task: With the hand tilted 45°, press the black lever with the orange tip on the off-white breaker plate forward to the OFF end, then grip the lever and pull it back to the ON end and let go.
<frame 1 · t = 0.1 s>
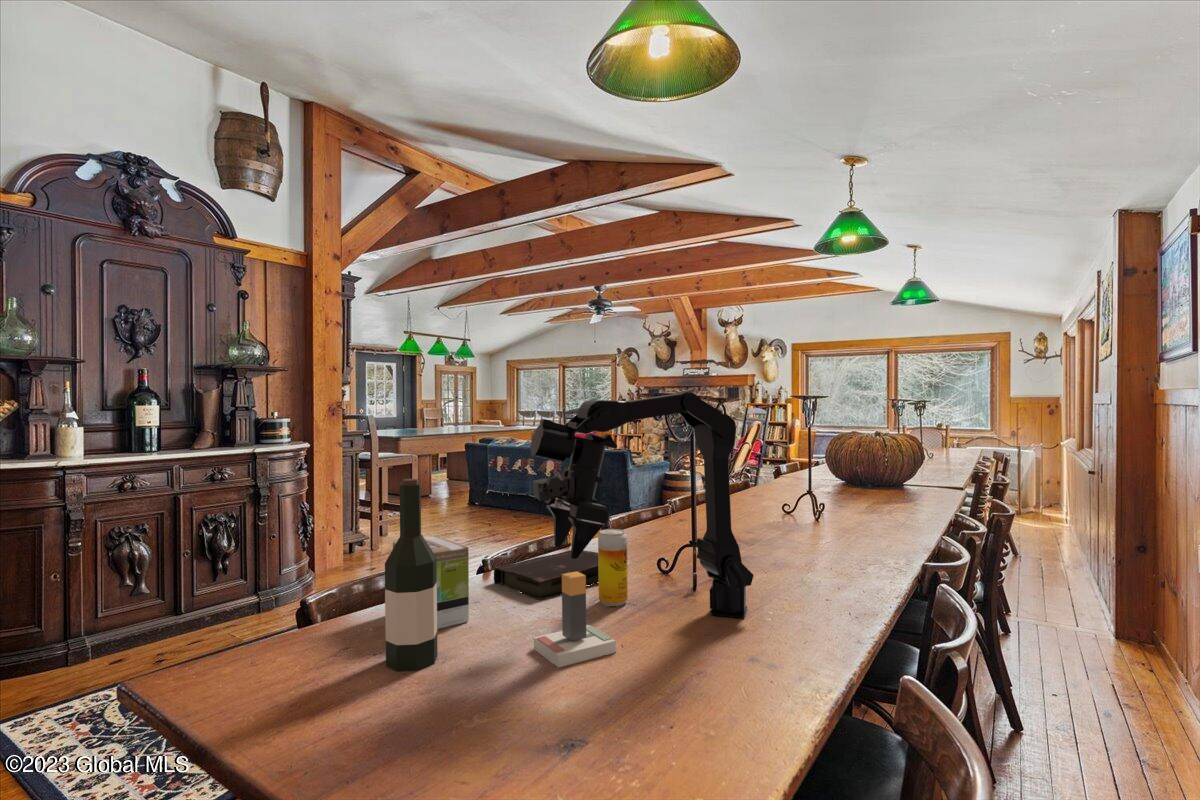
hand: (565, 552, 115), 15 cm above the table, tool pointing down, fingers open, 9 cm apart
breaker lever: (574, 605, 109), point 8 cm above the table, slide at 0.0 cm
beer can: (613, 603, 135), on the table
breaker plate: (574, 650, 109), on the table
wine bottle: (412, 662, 106), on the table
diary: (559, 583, 151), on the table
tea box: (430, 618, 127), on the table
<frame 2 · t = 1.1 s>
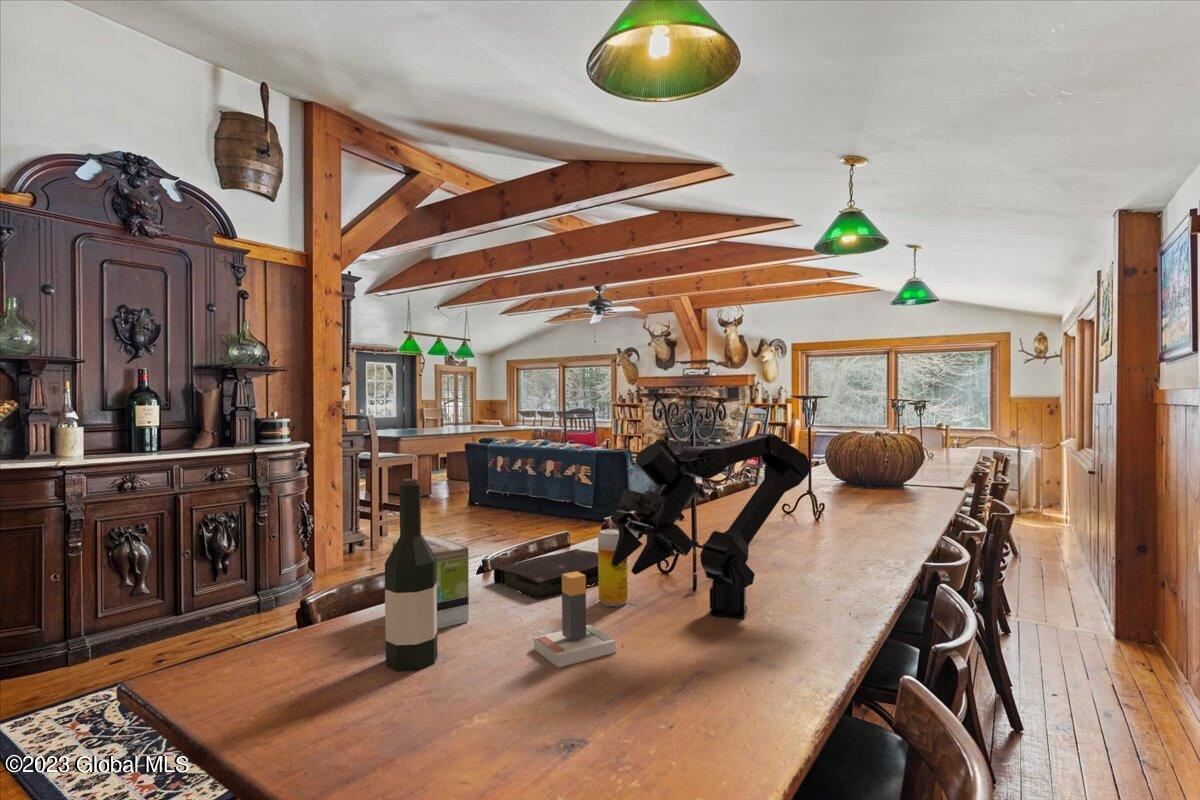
hand: (622, 568, 115), 12 cm above the table, tool tilted 45°, fingers open, 6 cm apart
nothing on the table moved.
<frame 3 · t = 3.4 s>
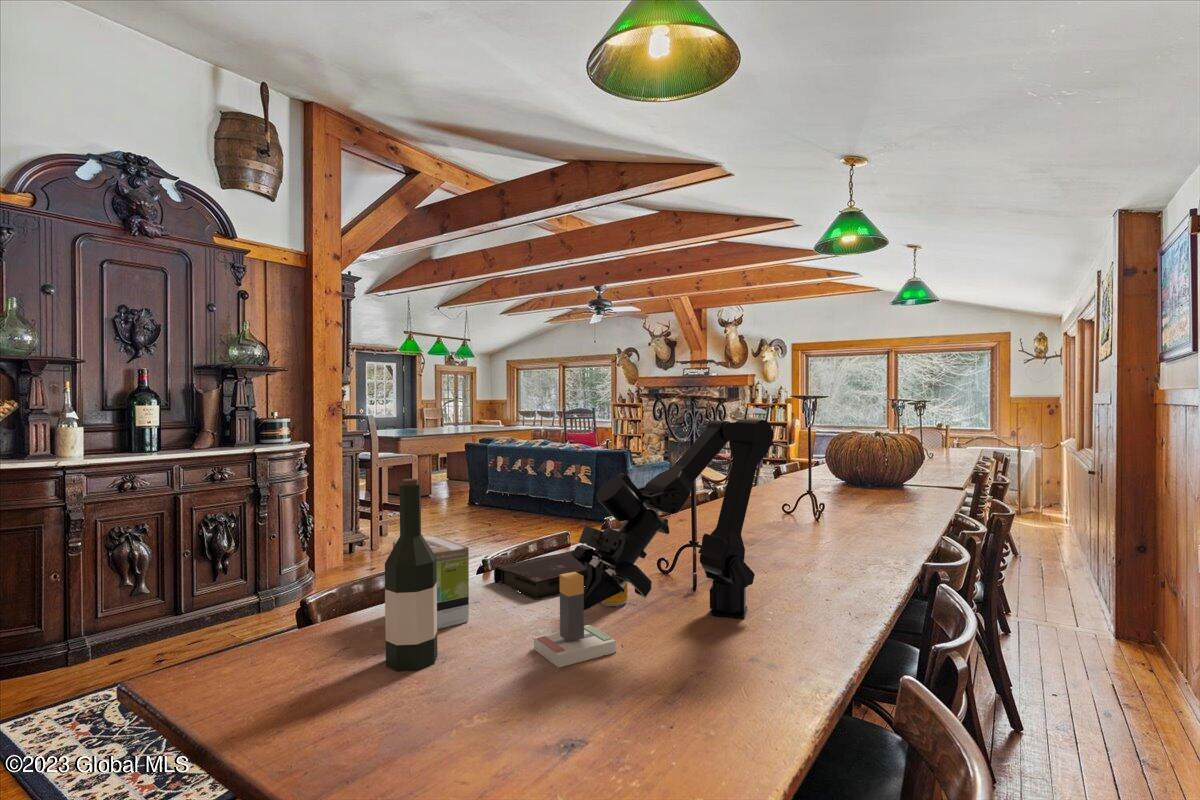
hand: (580, 609, 110), 7 cm above the table, tool tilted 45°, fingers closed, pressing on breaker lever
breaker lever: (571, 605, 109), point 8 cm above the table, slide at 0.5 cm, touching gripper
everything else where it was.
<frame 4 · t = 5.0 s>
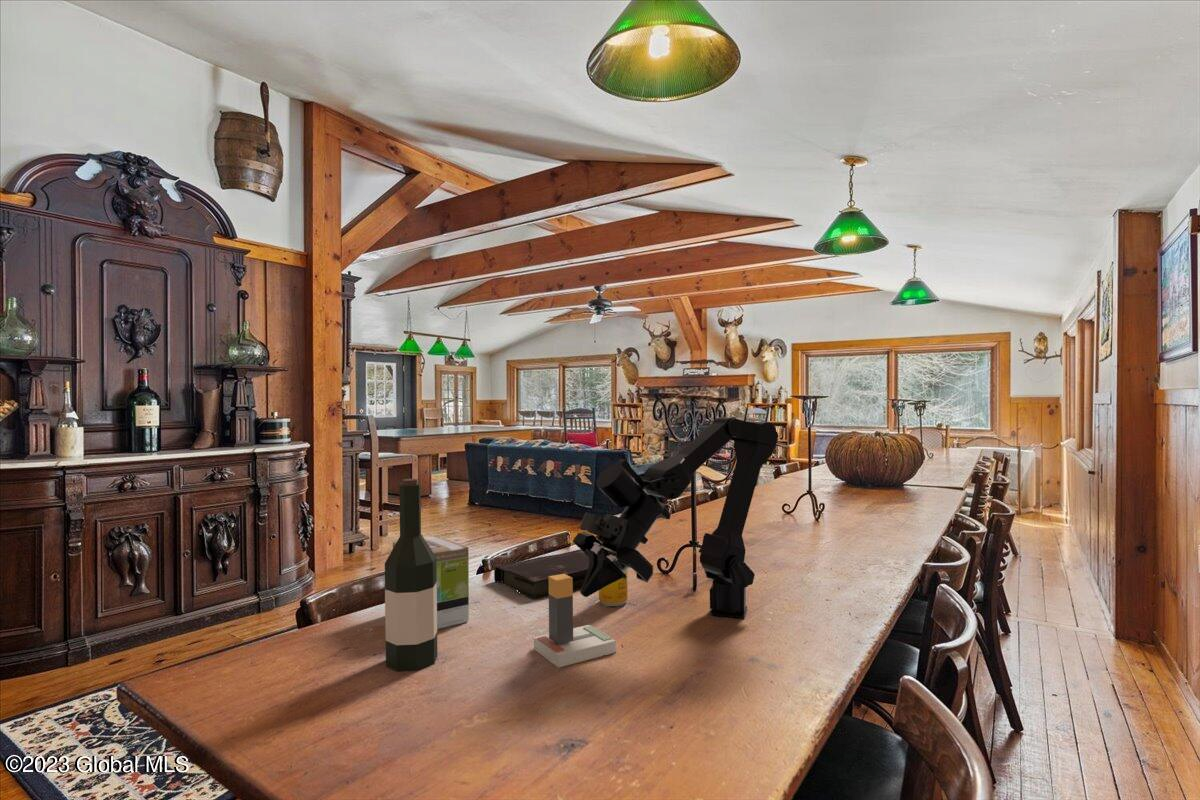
hand: (583, 595, 110), 9 cm above the table, tool tilted 45°, fingers closed
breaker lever: (560, 608, 108), point 8 cm above the table, slide at 2.6 cm
everything else where it was.
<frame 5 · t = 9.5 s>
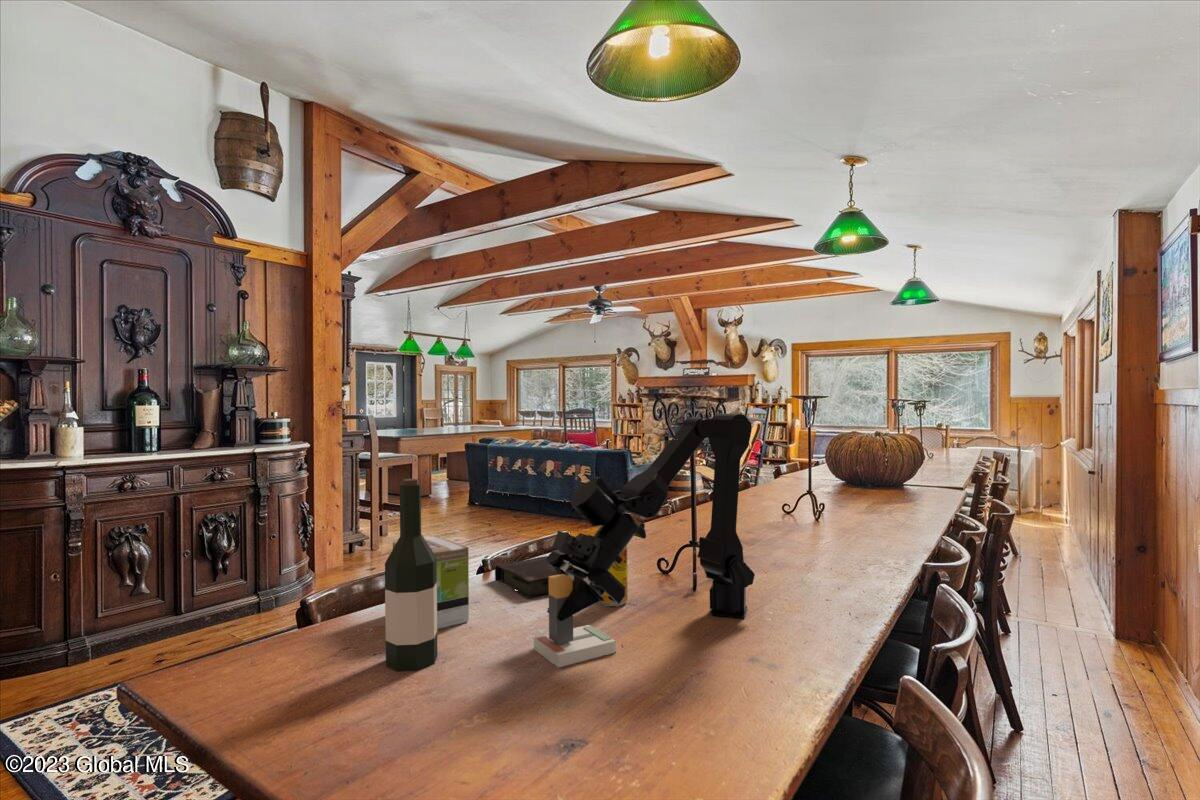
hand: (553, 616, 107), 7 cm above the table, tool tilted 45°, fingers closed on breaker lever, 3 cm apart
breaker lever: (560, 608, 108), point 8 cm above the table, slide at 2.5 cm, touching gripper
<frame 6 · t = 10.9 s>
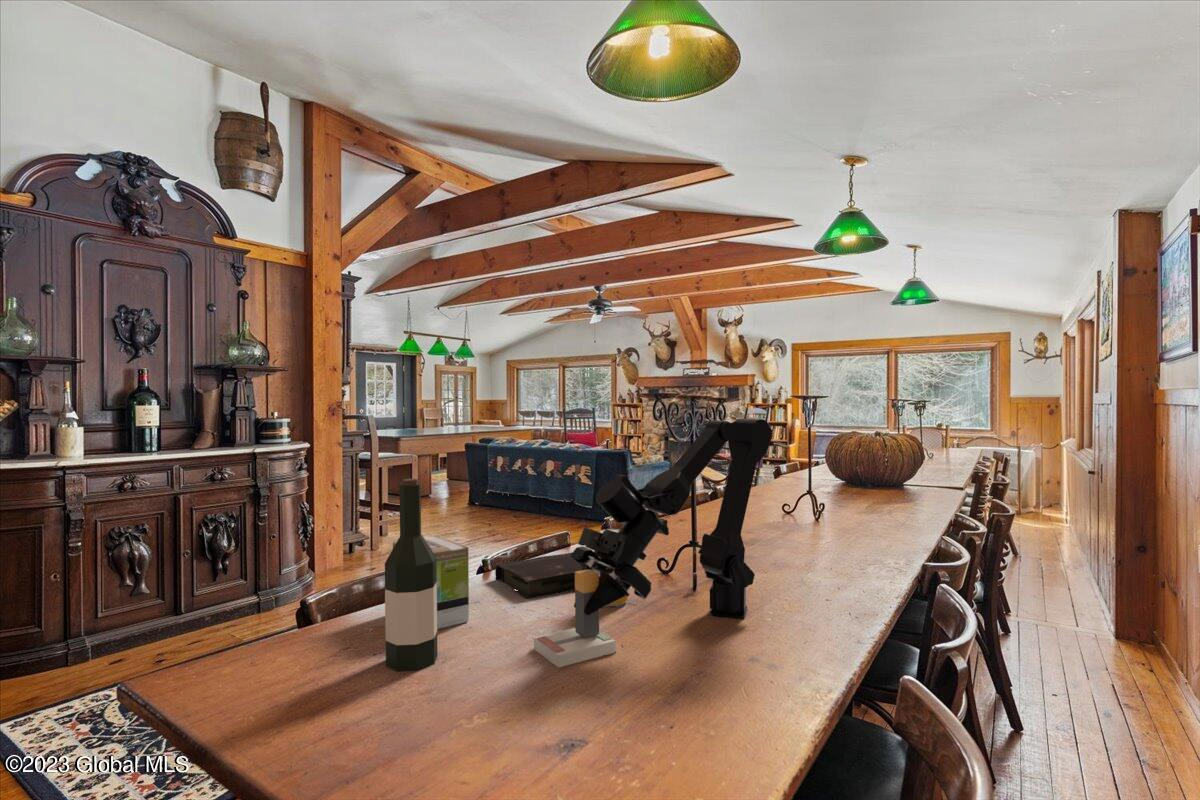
hand: (580, 610, 110), 7 cm above the table, tool tilted 45°, fingers closed on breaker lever, 3 cm apart
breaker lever: (587, 602, 111), point 8 cm above the table, slide at -2.6 cm, touching gripper
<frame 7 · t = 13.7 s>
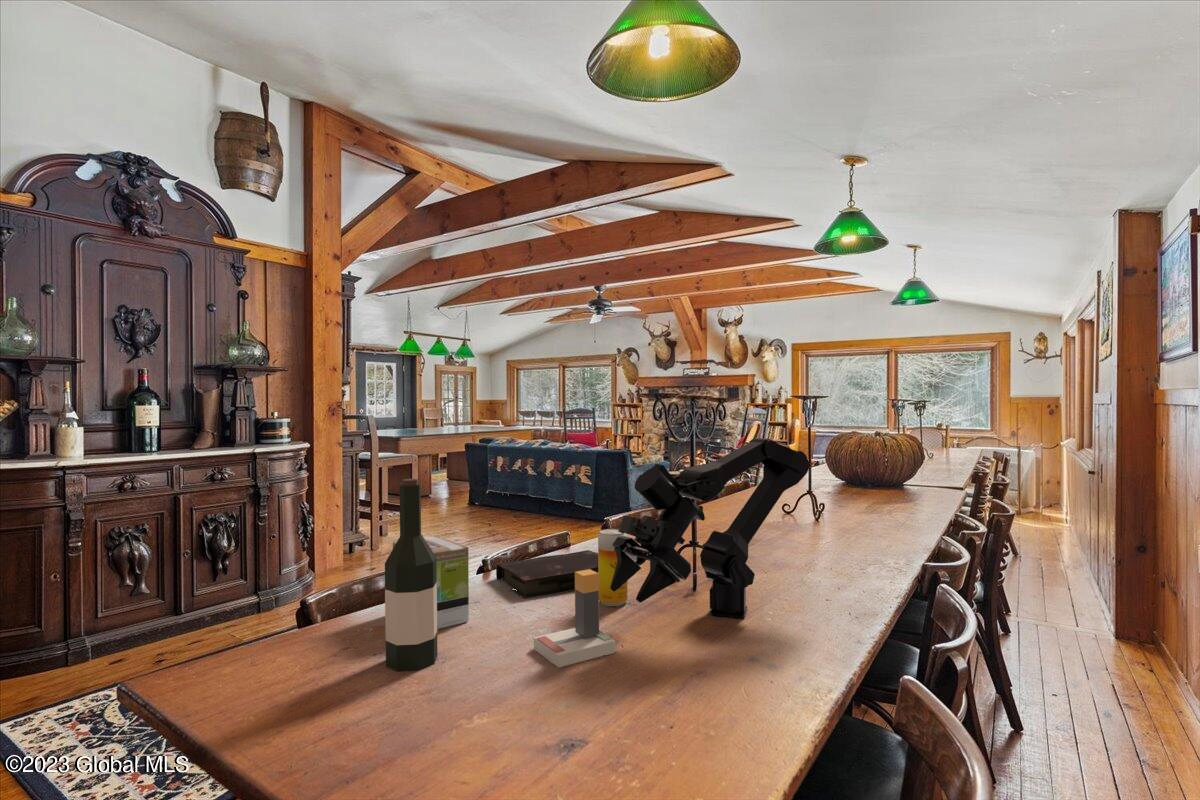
hand: (624, 595, 115), 8 cm above the table, tool tilted 45°, fingers open, 9 cm apart
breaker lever: (586, 602, 111), point 8 cm above the table, slide at -2.6 cm
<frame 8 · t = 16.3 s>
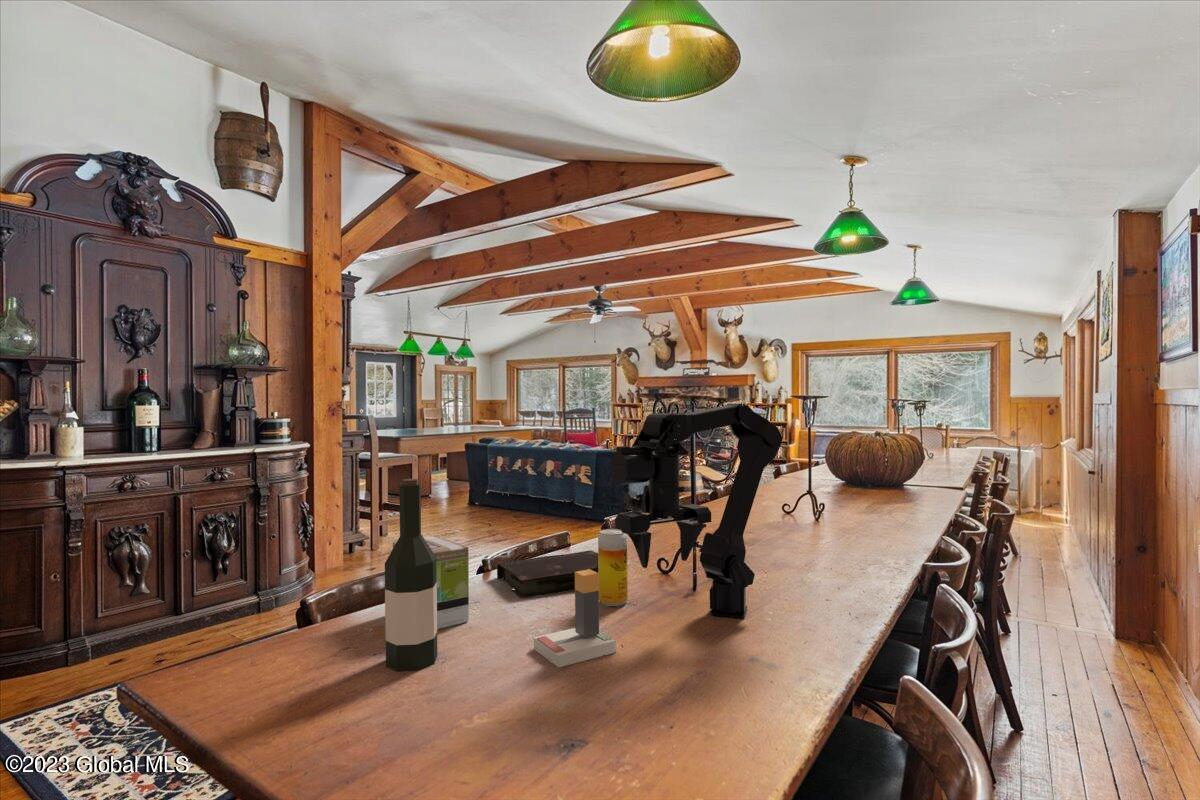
hand: (664, 564, 120), 12 cm above the table, tool pointing down, fingers open, 9 cm apart
at the end: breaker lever slide at -2.6 cm; the gripper is holding nothing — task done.
